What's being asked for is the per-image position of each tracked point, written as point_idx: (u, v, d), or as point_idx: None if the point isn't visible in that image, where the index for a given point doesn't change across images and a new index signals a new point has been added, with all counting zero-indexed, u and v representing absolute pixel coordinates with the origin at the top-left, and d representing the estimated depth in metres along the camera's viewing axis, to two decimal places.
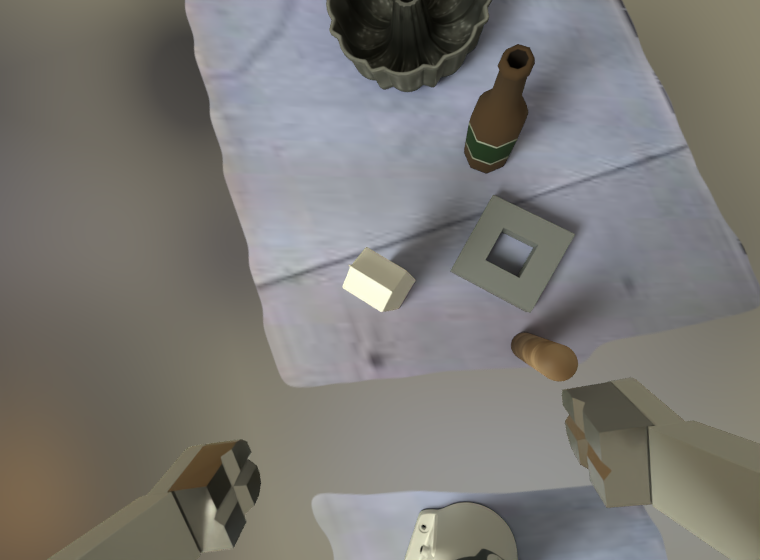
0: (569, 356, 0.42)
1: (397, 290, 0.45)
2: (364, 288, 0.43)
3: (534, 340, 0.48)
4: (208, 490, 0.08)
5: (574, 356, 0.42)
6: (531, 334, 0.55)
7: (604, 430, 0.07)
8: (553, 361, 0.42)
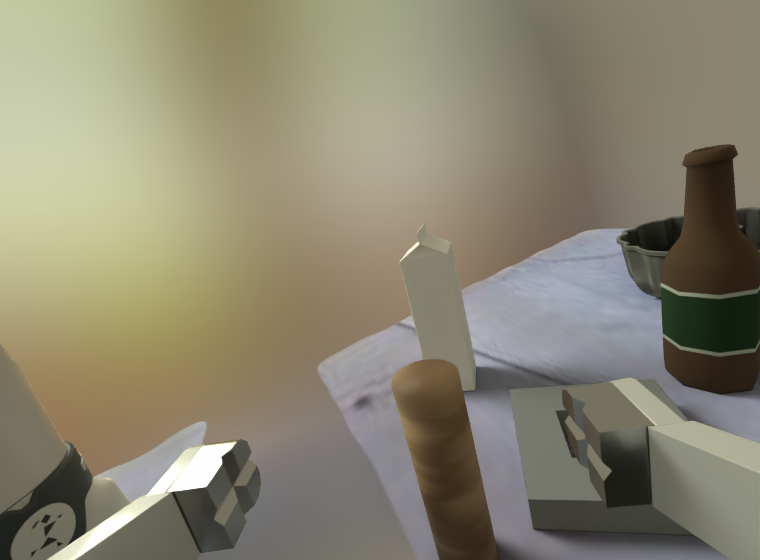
0: (443, 382, 0.22)
1: (428, 273, 0.42)
2: (413, 247, 0.45)
3: None
4: (208, 490, 0.08)
5: (448, 386, 0.21)
6: None
7: (604, 430, 0.07)
8: (423, 372, 0.23)
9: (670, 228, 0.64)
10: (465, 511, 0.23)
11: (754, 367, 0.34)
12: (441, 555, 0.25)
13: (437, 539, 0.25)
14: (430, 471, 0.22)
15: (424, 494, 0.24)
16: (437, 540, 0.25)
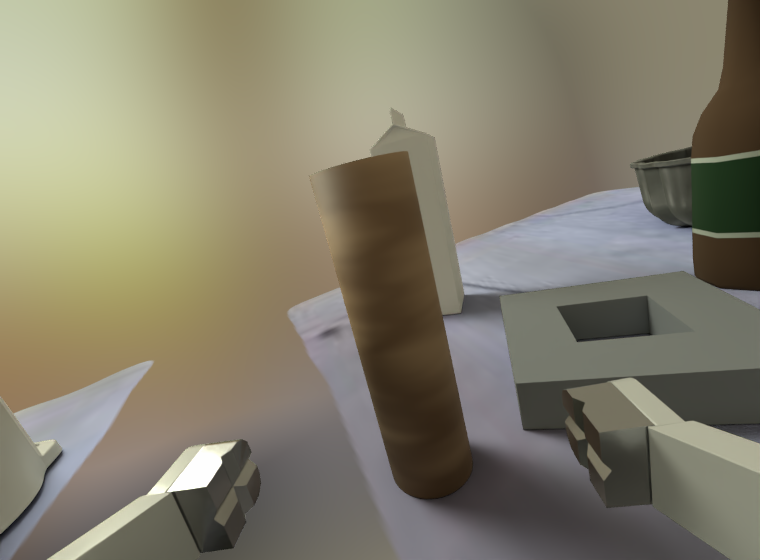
0: None
1: None
2: None
3: None
4: (208, 490, 0.08)
5: None
6: None
7: (604, 430, 0.07)
8: None
9: None
10: (418, 368, 0.15)
11: None
12: (388, 450, 0.18)
13: (382, 424, 0.17)
14: (363, 300, 0.15)
15: (360, 350, 0.16)
16: (382, 425, 0.17)
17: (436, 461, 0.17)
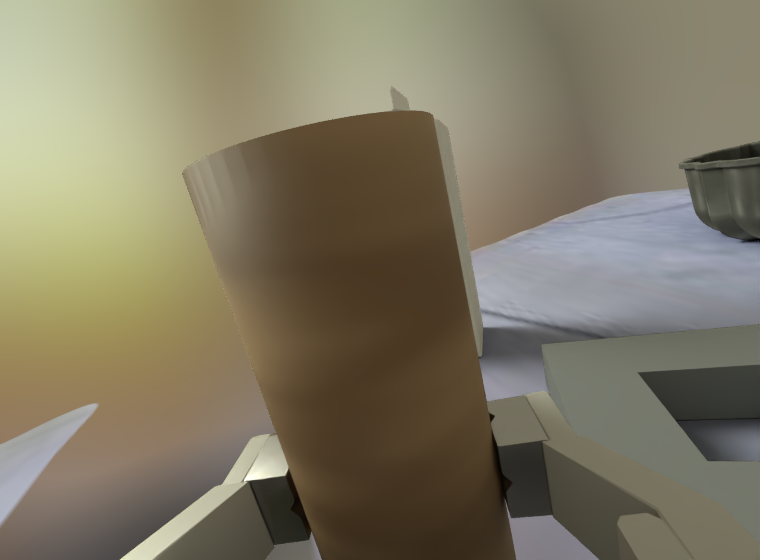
0: None
1: None
2: None
3: None
4: (286, 479, 0.07)
5: None
6: None
7: (504, 444, 0.07)
8: None
9: None
10: None
11: None
12: None
13: None
14: (322, 489, 0.06)
15: None
16: None
17: None
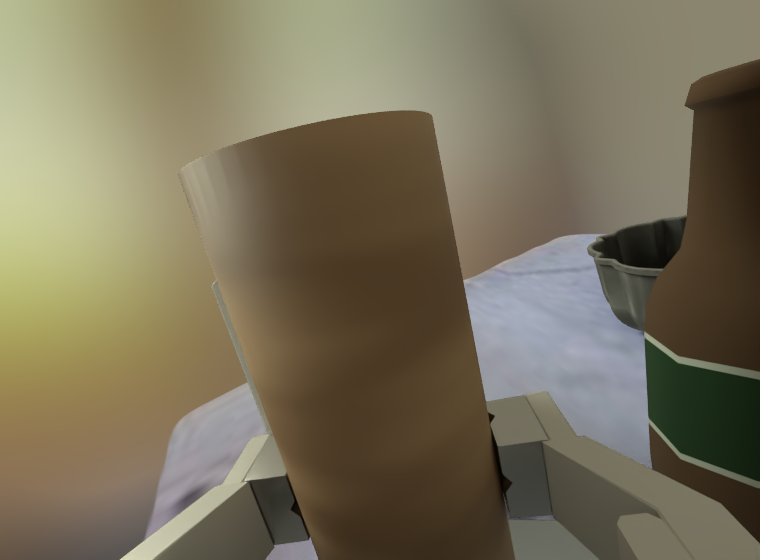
0: None
1: None
2: None
3: None
4: (286, 479, 0.07)
5: None
6: None
7: (504, 444, 0.07)
8: None
9: (661, 234, 0.48)
10: None
11: None
12: None
13: None
14: (320, 493, 0.06)
15: None
16: None
17: None
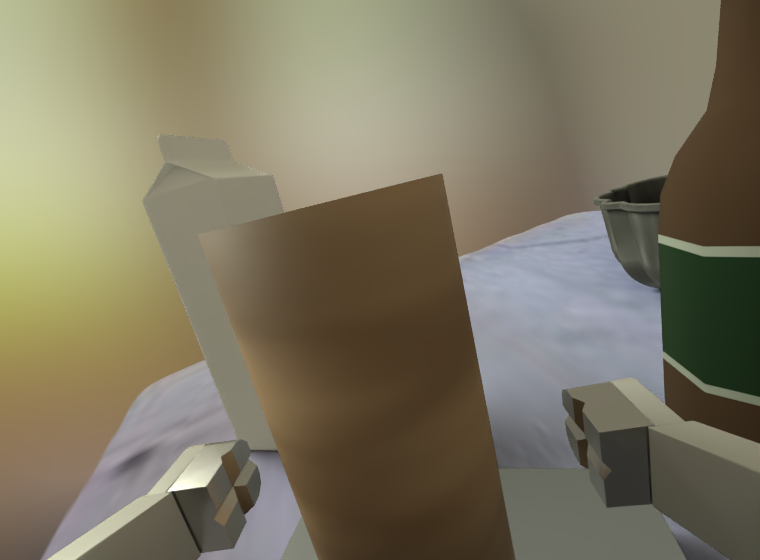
0: None
1: (192, 223, 0.21)
2: None
3: None
4: (208, 490, 0.08)
5: None
6: None
7: (604, 430, 0.07)
8: None
9: None
10: None
11: None
12: None
13: None
14: (334, 538, 0.06)
15: None
16: None
17: None
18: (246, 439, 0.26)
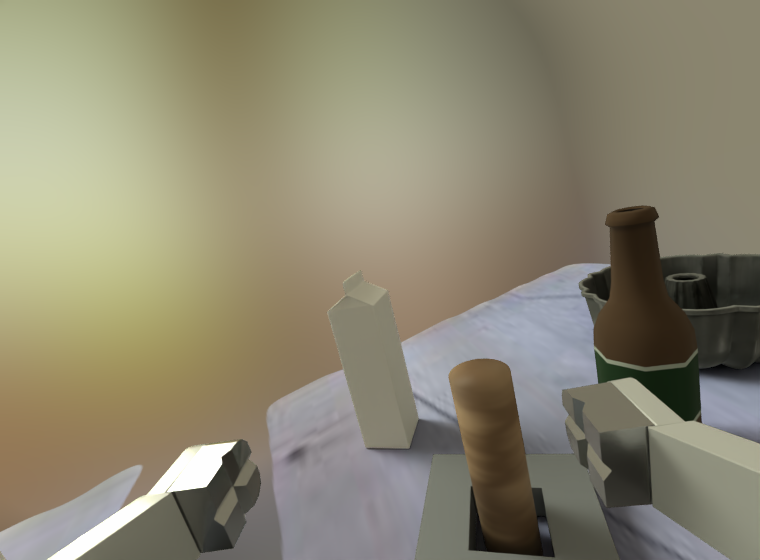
0: (497, 377, 0.24)
1: (355, 325, 0.41)
2: None
3: None
4: (208, 490, 0.08)
5: (502, 380, 0.24)
6: None
7: (604, 430, 0.07)
8: (477, 369, 0.26)
9: None
10: (515, 497, 0.25)
11: None
12: (489, 542, 0.27)
13: (486, 526, 0.27)
14: (484, 458, 0.25)
15: (476, 481, 0.26)
16: (486, 527, 0.27)
17: (523, 553, 0.26)
18: (370, 441, 0.45)
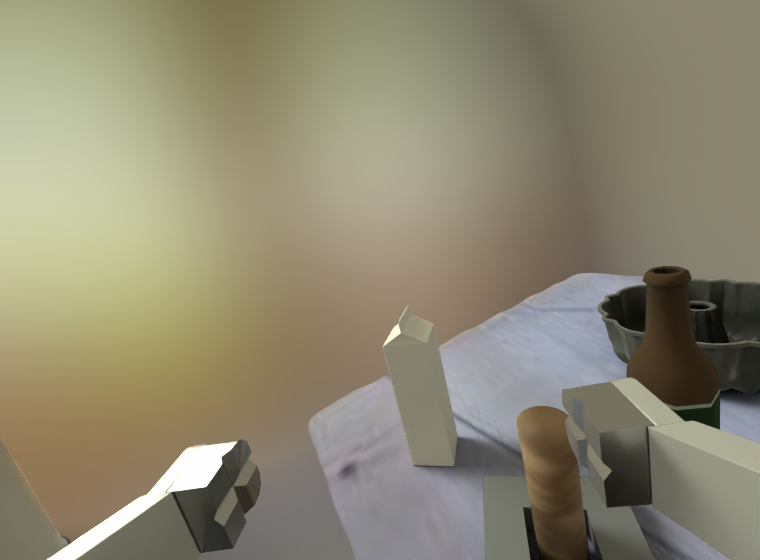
0: (562, 428, 0.29)
1: (409, 359, 0.45)
2: (396, 329, 0.48)
3: None
4: (208, 490, 0.08)
5: None
6: None
7: (604, 430, 0.07)
8: (541, 418, 0.31)
9: None
10: (574, 525, 0.30)
11: None
12: (547, 558, 0.32)
13: (545, 546, 0.32)
14: (549, 494, 0.30)
15: (539, 511, 0.31)
16: (545, 547, 0.32)
17: None
18: (417, 459, 0.49)
